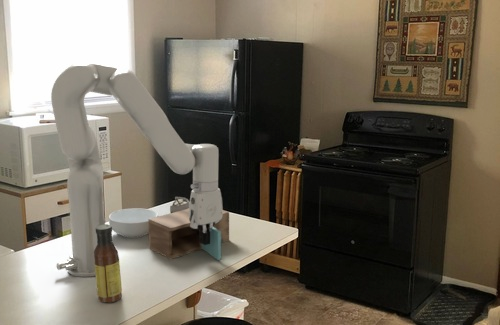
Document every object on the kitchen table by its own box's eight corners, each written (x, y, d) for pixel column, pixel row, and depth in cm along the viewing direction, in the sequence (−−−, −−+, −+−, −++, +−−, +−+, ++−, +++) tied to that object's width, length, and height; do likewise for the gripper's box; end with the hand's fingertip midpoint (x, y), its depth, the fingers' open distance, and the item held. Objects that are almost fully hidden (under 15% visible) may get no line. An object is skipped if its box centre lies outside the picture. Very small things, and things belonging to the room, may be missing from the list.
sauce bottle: (124, 293, 151) (121, 222, 146) (119, 303, 145) (116, 230, 140) (99, 293, 150) (95, 222, 146) (93, 304, 144) (89, 230, 140)
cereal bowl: (139, 246, 185) (138, 225, 183) (99, 238, 192) (98, 218, 190) (168, 230, 200) (167, 211, 198) (130, 223, 207) (129, 205, 205)
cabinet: (171, 258, 174) (170, 228, 172) (149, 248, 183) (148, 218, 180) (229, 240, 190) (229, 212, 188) (206, 231, 199) (206, 204, 197)
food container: (188, 233, 196) (187, 206, 194) (170, 233, 197) (169, 206, 194) (192, 222, 208) (192, 196, 206) (175, 222, 209) (175, 196, 206)
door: (224, 258, 173) (224, 231, 171) (218, 260, 172) (217, 232, 170) (207, 246, 183) (207, 220, 181) (201, 247, 182) (201, 221, 180)
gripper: (193, 192, 161) (193, 252, 165) (232, 184, 171) (231, 241, 175) (177, 186, 166) (177, 245, 170) (216, 179, 176) (215, 234, 180)
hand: (204, 243), depth 173 cm, fingers closed
